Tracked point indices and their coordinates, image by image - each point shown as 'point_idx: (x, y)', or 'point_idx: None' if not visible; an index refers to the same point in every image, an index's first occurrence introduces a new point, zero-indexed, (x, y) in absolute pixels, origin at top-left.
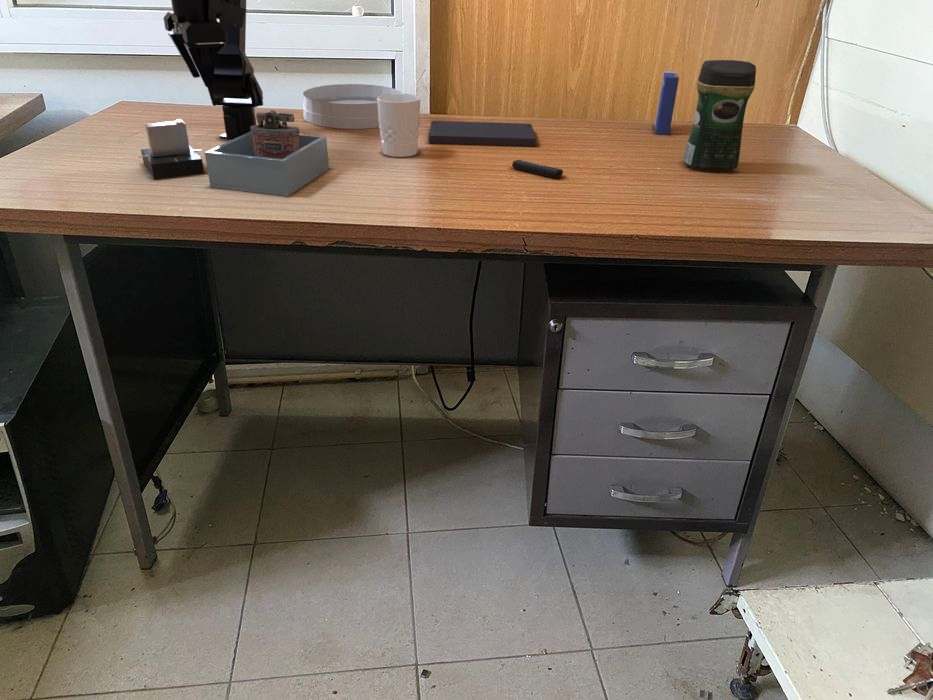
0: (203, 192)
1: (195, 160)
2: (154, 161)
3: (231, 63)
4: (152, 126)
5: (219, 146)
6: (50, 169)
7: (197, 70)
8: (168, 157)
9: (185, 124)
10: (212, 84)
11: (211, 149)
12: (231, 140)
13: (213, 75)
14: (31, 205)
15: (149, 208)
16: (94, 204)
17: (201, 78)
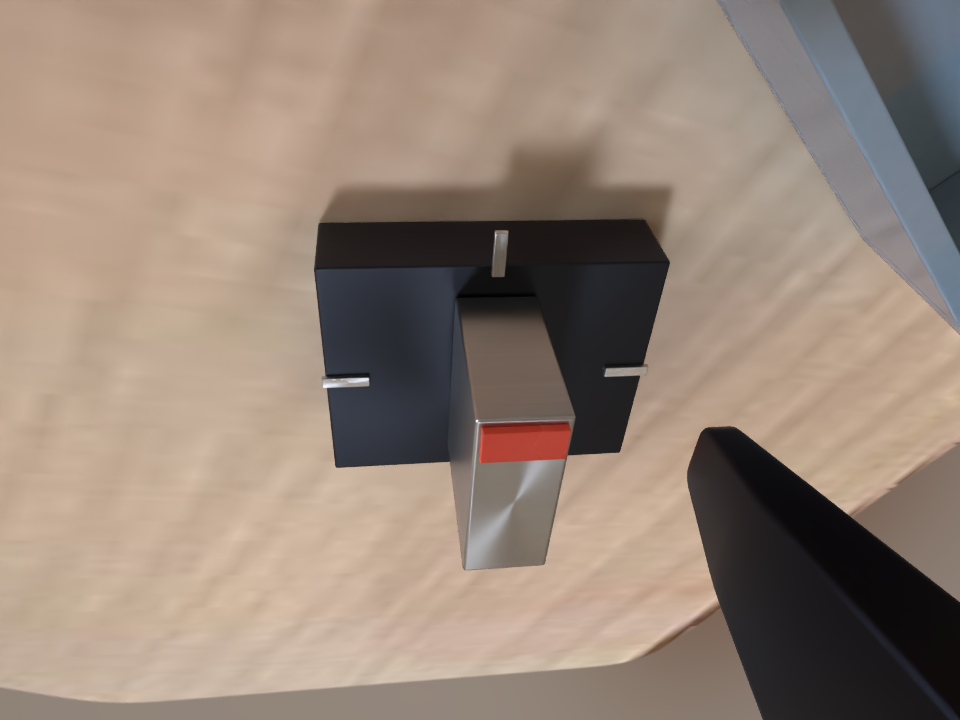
0: (897, 275)
1: (659, 289)
2: (582, 440)
3: None
4: (547, 548)
5: (938, 255)
6: (294, 628)
7: (761, 694)
8: None
9: (572, 412)
10: (751, 442)
11: (953, 305)
12: (873, 151)
13: (846, 518)
14: (637, 636)
15: (896, 441)
16: None
17: (718, 580)
